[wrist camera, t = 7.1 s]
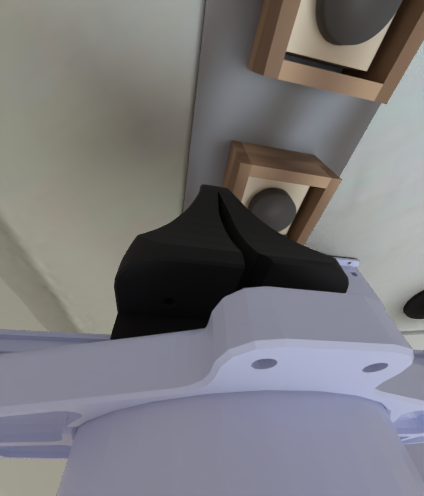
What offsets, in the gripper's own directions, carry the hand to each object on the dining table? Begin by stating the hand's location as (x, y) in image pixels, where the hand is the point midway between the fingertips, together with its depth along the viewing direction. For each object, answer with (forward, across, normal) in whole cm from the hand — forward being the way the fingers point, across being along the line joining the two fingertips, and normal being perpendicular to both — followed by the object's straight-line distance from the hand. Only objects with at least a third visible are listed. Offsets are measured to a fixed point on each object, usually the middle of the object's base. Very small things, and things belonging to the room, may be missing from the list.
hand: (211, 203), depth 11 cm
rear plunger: (+9, -6, +3) cm, 12 cm away
